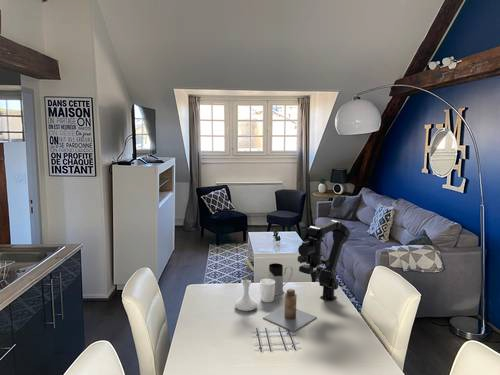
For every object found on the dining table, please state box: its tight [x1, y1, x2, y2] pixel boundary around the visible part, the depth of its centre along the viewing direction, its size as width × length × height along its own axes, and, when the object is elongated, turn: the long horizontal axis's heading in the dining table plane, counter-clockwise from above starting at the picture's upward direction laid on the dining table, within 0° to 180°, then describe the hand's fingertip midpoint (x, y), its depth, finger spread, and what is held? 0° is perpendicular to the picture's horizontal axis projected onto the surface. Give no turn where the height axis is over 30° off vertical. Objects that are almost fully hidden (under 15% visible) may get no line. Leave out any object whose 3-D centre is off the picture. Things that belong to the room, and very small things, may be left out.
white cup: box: [259, 278, 275, 303], centre depth 200 cm, size 8×8×10 cm
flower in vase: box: [234, 257, 258, 312], centre depth 190 cm, size 13×11×25 cm
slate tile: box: [262, 305, 318, 333], centre depth 181 cm, size 18×18×1 cm
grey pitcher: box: [268, 262, 293, 296], centre depth 210 cm, size 9×14×15 cm, turn 107°
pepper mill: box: [284, 288, 298, 320], centre depth 180 cm, size 5×5×13 cm
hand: (314, 281), depth 191 cm, fingers closed
